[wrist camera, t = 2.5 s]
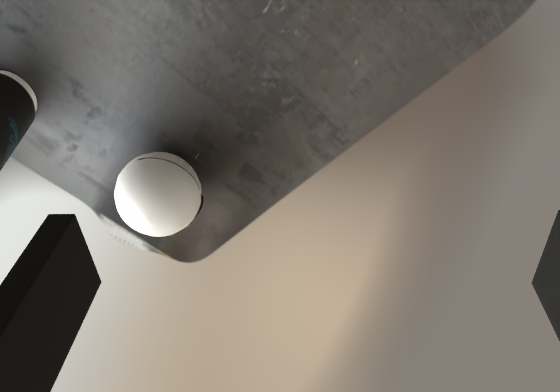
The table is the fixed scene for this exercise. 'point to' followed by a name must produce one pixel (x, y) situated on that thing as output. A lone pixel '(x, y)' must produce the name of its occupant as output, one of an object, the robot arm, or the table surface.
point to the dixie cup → (14, 112)
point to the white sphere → (158, 194)
